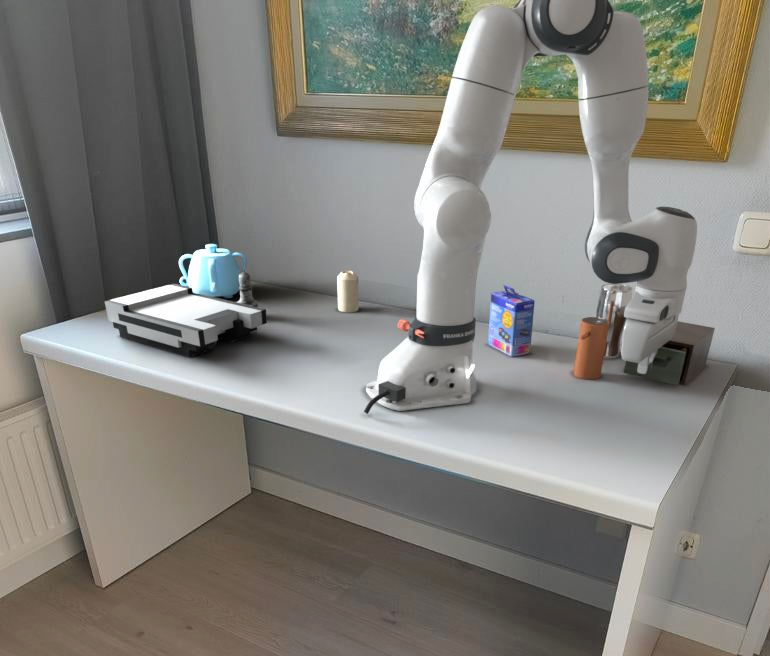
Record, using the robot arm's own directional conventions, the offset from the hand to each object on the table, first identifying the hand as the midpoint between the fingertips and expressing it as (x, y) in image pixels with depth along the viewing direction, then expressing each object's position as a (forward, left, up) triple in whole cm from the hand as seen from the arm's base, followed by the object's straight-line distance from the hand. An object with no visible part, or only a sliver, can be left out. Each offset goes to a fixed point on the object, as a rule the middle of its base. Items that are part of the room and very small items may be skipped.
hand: (643, 371), depth 141 cm
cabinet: (+15, +7, -4) cm, 17 cm away
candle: (-27, +79, -4) cm, 84 cm away
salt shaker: (-53, +85, -4) cm, 100 cm away
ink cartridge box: (-8, +33, -4) cm, 34 cm away
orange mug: (-5, +11, -4) cm, 13 cm away
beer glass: (+9, +20, -4) cm, 22 cm away
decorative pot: (-54, +110, -4) cm, 123 cm away
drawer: (+9, +5, -3) cm, 11 cm away
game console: (-71, +75, -4) cm, 104 cm away
